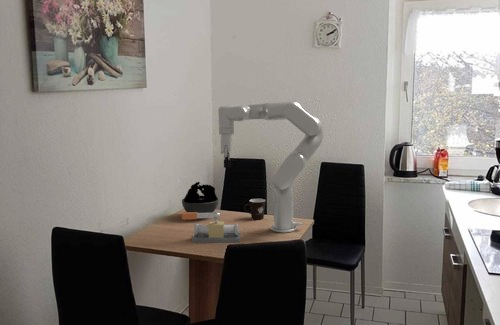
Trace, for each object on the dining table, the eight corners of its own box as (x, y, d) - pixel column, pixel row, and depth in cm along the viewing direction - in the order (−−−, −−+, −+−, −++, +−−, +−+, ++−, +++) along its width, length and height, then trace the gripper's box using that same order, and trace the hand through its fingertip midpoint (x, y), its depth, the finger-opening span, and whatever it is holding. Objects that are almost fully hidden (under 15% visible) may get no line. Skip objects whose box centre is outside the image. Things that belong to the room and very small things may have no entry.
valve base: (240, 235, 259) (240, 215, 257) (239, 241, 249) (239, 220, 247) (195, 235, 259) (194, 215, 258) (192, 242, 249) (191, 220, 248)
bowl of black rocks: (213, 222, 283) (212, 187, 281) (177, 221, 287) (176, 186, 285) (222, 213, 303) (221, 181, 300) (188, 212, 307) (187, 180, 304)
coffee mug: (265, 216, 295) (264, 198, 294) (266, 220, 287) (265, 202, 285) (243, 216, 295) (243, 199, 294) (244, 220, 286) (244, 202, 285)
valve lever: (182, 217, 254) (182, 212, 253) (219, 217, 254) (219, 211, 254) (182, 219, 251) (181, 213, 250) (219, 218, 251) (219, 213, 251)
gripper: (220, 129, 274) (221, 165, 277) (217, 132, 259) (218, 170, 262) (234, 129, 274) (235, 165, 276) (232, 132, 259) (233, 169, 261)
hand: (227, 167), depth 269 cm, fingers closed
